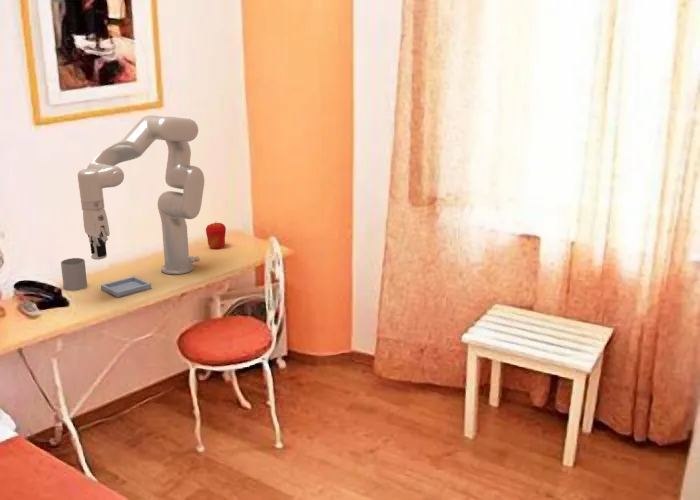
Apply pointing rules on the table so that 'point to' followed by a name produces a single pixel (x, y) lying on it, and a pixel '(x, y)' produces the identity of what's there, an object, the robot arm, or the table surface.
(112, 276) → the table surface
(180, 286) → the table surface
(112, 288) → the tray
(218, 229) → the apple
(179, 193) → the robot arm
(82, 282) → the cup
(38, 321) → the table surface
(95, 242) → the chess piece
